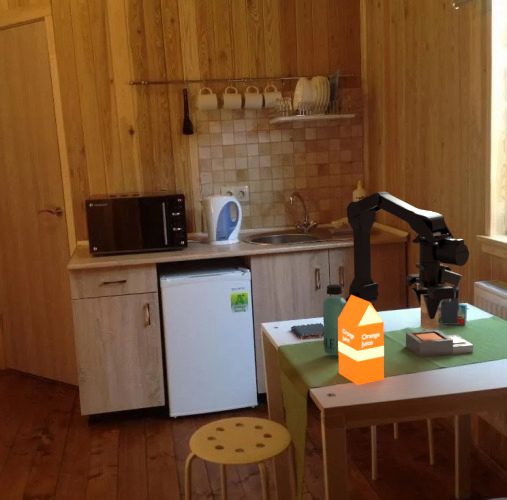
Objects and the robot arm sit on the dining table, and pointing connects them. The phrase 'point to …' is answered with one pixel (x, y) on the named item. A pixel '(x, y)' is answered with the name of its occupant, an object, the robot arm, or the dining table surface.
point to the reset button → (428, 337)
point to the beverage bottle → (332, 318)
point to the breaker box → (437, 344)
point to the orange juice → (360, 342)
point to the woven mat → (308, 330)
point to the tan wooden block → (427, 317)
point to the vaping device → (450, 309)
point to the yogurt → (460, 314)
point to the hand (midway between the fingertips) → (429, 316)
